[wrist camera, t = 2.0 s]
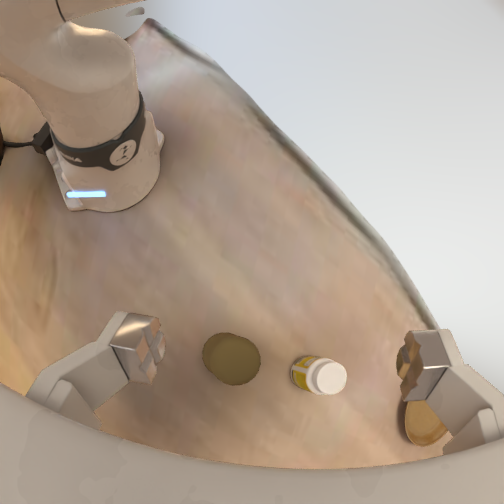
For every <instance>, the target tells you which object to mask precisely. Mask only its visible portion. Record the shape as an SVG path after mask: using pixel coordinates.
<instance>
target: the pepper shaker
mask: <svg viewBox="0 0 504 504" xmlns="http://www.w3.org/2000/svg"><path fill="white" fill-rule="evenodd" d="M202 356H203V361H204V364H205V366H206V367H207V368H208V370H209V371H211V372H212V373H213V374H214V375H215V376H216V377H217V378H218V379H219V380H220V381H222V382H223V383H225V384H229V385H242V384H245V383H248V382H249V381H250V380H252V379H253V378H254V377H255V376H256V374H257V373H258V371H259V368H260V365H261V362H260V354H259V351H258V349H257V347H256V346H255V345H254V344H253V343H252V342H251V341H249V340H248V339H246V338H243V337H240V336H236V335H234V334H231V333H219V334H216V335H214V336H212V337H211V338H209V339H208V341H207V342H206V343H205V345H204V348H203V351H202Z"/></svg>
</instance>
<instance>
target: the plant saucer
mask: <svg viewBox="0 0 504 504" xmlns="http://www.w3.org/2000/svg"><path fill="white" fill-rule="evenodd" d="M425 401H426V400H421V401H408V402H407V405H406V410H405V429H406V433H407V436H408V438H409V440H410V441H411V442H412V443H413V444H414V445H416V446H420V447H426V446H430V445H432V444H434V443H436V442H437V441H439V440H440V439H441V438H442V437H443V436H444V435H445V434H446V433H447V431H448V429H447V428H446V426H445V425H444V424H443V423H442V421H441V420H440V419H439V418H438V416H437V415H436V414H435V413H434V412H433V410H432V409H431V408H430V407H429V405H428V404H427V403H426V402H425Z"/></svg>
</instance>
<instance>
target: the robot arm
mask: <svg viewBox="0 0 504 504" xmlns="http://www.w3.org/2000/svg"><path fill="white" fill-rule="evenodd" d="M139 1H145V0H0V76H1V77H3V78H5V79H7V80H9V81H11V82H13V83H14V84H16V85H18V86H19V87H20V88H22V89H23V90H24V91H26V92H27V93H28V94H29V95H30V96H31V97H32V99H33V100H34V101H35V103H36V104H37V106H38V108H39V109H40V111H41V112H42V114H43V116H44V117H45V119H46V121H47V122H46V123H45V124H44V126H43V127H42V128H41V130H40V131H39V132H38V133H36V134H35V135H34V136H33V138H34V139H33V141H32V142H27V143H14V142H6V141H3V145H4V146H9V147H24V146H29V145H32V146H33V147H34V149H35V150H36V152H38V153H40V154H43V155H46V156H47V158H48V160H49V161H50V163H51V164H52V167H53V170H54V173H55V176H56V179H57V182H58V185H59V187H60V190H61V193H62V196H63V198H64V201H65V204H66V206H67V208H68V209H69V210H71V211H78V210H83V209H92V210H96V211H100V212H115V211H120V210H123V209H126V208H129V207H131V206H133V205H134V204H136V203H138V202H139V201H140V200H142V199H143V198H144V197H145V196H146V195H147V194H148V193H149V192H150V191H151V189H152V188H153V186H154V185H155V183H156V181H157V178H158V175H159V171H160V151H161V148H162V146H163V144H164V136H163V134H162V133H161V132H160V131H158V130H157V129H156V128H155V124H154V119H153V115H152V113H151V112H150V111H147V110H146V109H145V103H144V101H143V97H142V94H141V92H140V91H139V89H138V83H137V74H136V64H135V55H134V52H133V50H132V48H131V47H130V45H129V44H128V43H127V42H126V41H125V40H124V39H122V38H121V37H119V36H118V35H116V34H114V33H112V32H110V31H107V30H102V29H95V28H87V27H82V26H79V25H76V24H73V23H72V22H70V21H69V20H72V19H75V18H78V17H81V16H85V15H88V14H91V13H94V12H98V11H101V10H105V9H109V8H113V7H117V6H121V5H125V4H129V3H135V2H139ZM69 197H71V198H69ZM160 326H161V324H160V321H159V318H157V317H154V316H148V315H142V314H136V313H129V312H123V311H117V312H115V313H114V315H113V316H112V318H111V319H110V321H109V322H108V324H107V325H106V327H105V328H104V330H103V331H102V333H101V334H100V336H99V337H98V339H97V340H96V342H90V343H89V344H87V345H85V346H83V347H82V348H80V349H78V350H76V351H75V352H73V353H71V354H69V355H67V356H66V357H64V358H62V359H60V360H59V361H57V362H55V363H53V364H52V365H50V366H48V367H46V368H45V369H43V370H42V371H41V372H40V374H39V375H38V377H37V378H36V380H35V381H34V383H33V385H32V386H31V388H30V389H29V391H28V392H27V394H26V396H23V395H22V394H20V393H18V392H16V391H15V390H13V389H11V388H9V387H8V386H6V385H4V384H3V383H1V382H0V504H504V395H503V394H502V393H501V392H500V391H499V390H498V389H496V388H495V387H494V386H493V385H492V384H491V383H490V382H488V381H487V380H486V379H485V378H484V377H482V376H481V375H480V374H479V373H478V372H476V371H475V370H474V369H473V368H472V367H471V366H469V365H468V364H467V365H465V364H464V362H463V360H462V357H461V354H460V352H459V350H458V347H457V345H456V343H455V340H454V338H453V336H452V334H451V332H450V330H448V329H439V330H419V331H409V332H408V333H407V334H406V336H405V338H404V341H405V345H404V346H403V347H401V348H400V350H399V352H398V355H397V361H396V368H397V374H398V376H399V377H400V378H401V379H402V380H403V381H402V383H401V385H400V388H401V392H402V397H403V402H408V401H421V400H426V401H425V402H426V403H427V404H428V405H429V407H430V408H431V409H432V410H433V412H434V413H435V414H436V415H437V416H438V418H439V419H440V420H441V421H442V423H443V424H444V425H445V426H446V428H447V429H448V430H449V431H450V433H451V434H452V435H453V438H452V439H451V440H450V441H449V442H448V443H447V444H445V446H444V447H443V454H444V455H443V456H438V457H433V458H428V459H423V460H417V461H412V462H405V463H398V464H391V465H382V466H373V467H361V468H344V469H290V468H272V467H260V466H250V465H241V464H234V463H226V462H220V461H214V460H208V459H202V458H197V457H192V456H187V455H183V454H178V453H174V452H170V451H165V450H161V449H158V448H154V447H150V446H147V445H143V444H140V443H136V442H133V441H130V440H127V439H123V438H120V437H117V436H114V435H112V434H109V433H106V432H103V431H100V430H99V429H100V427H101V425H102V423H101V420H100V419H99V418H98V417H97V416H96V414H95V413H94V412H93V411H95V410H96V409H97V408H98V407H100V406H101V405H102V404H103V403H105V402H106V401H107V400H108V399H109V398H111V397H112V396H113V395H114V394H116V393H117V392H118V391H119V390H121V389H122V388H123V387H124V386H125V385H127V384H128V383H129V381H132V382H137V383H142V384H147V385H151V384H152V382H153V380H154V377H155V375H156V373H157V371H158V370H157V367H156V364H157V363H159V362H160V361H162V359H163V356H164V354H165V348H166V342H165V337H164V334H163V333H161V332H160V331H159V328H160Z"/></svg>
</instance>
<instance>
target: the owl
mask: <svg viewBox="0 0 504 504" xmlns="http://www.w3.org/2000/svg"><path fill="white" fill-rule="evenodd" d="M4 147H5V146H4V145H3V136H2V132H1V128H0V165H1V161H2V159H3V151H4Z"/></svg>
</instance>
